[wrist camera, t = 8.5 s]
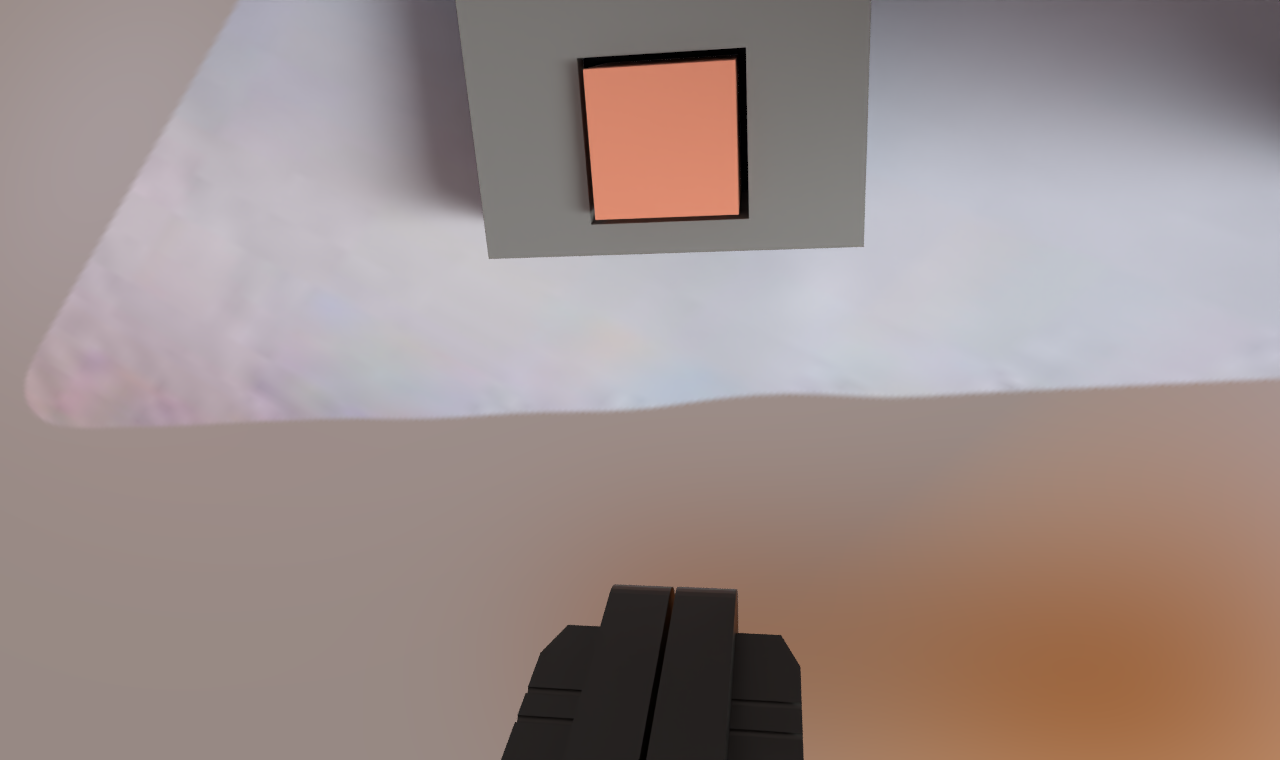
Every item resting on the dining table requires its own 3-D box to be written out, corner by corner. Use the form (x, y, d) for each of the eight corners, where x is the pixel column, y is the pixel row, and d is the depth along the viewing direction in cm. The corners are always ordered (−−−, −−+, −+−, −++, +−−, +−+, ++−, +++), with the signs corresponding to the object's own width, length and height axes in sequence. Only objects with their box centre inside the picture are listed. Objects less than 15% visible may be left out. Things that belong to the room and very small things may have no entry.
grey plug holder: (860, -247, 27) (880, -302, 22) (848, 213, 32) (863, 246, 27) (477, -206, 28) (423, -249, 24) (526, 225, 34) (488, 258, 29)
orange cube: (738, 54, 29) (735, 59, 25) (741, 188, 31) (738, 214, 27) (607, 62, 30) (582, 69, 26) (617, 193, 31) (595, 219, 27)
